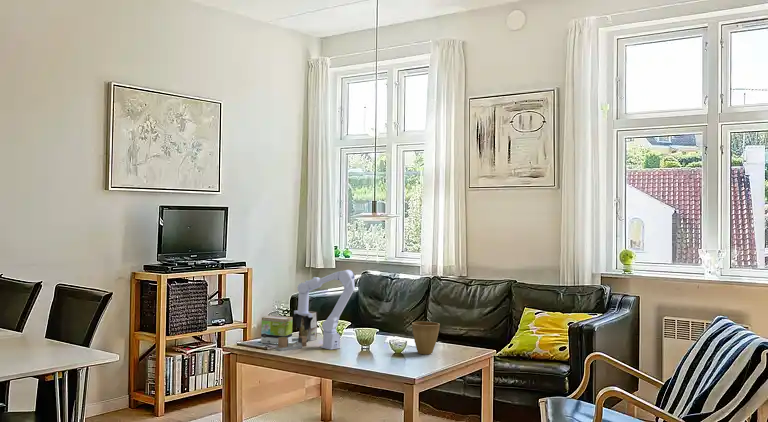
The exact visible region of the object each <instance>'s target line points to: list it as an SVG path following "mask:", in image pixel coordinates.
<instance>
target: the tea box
mask: <svg viewBox="0 0 768 422" xmlns="http://www.w3.org/2000/svg"><path fill="white" fill-rule="evenodd" d="M293 319H294V317H293V316H282V315H270V314H269V315H266V316H264V317H261V325H260V327H261V330H260V333H261V334H260V335H261V336H260V343H261V344H269V343H278V337H287V338H288V343H289V342H291V343H292V342H293V321H294V320H293Z"/></svg>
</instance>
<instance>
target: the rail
mask: <svg viewBox="0 0 768 422" xmlns="http://www.w3.org/2000/svg"><path fill="white" fill-rule="evenodd" d="M274 348H275V351H279V352H282V351H291V350H297V349H303V347H302V343H299V342H298V341H295V344H293V343H288V338H287V337H278V344H277V346H275V347H274Z"/></svg>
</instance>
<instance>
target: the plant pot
mask: <svg viewBox="0 0 768 422" xmlns="http://www.w3.org/2000/svg"><path fill="white" fill-rule="evenodd" d="M440 326H441V324H440V323H438V322H434V321H414V322H412V323H411V327H412V334H413V340H414V343H415V348H416V351H417V354H420V355H432V354H433V351H434V349H435V347H436V344H437V340H438V338H439V337H438V336H439V332H440ZM431 353H432V354H431Z"/></svg>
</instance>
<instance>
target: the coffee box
mask: <svg viewBox="0 0 768 422" xmlns="http://www.w3.org/2000/svg"><path fill="white" fill-rule="evenodd" d="M308 312H309V313H311V314H312V317H313V319H312V321H311V323H310V325H309V329H308V330H305V329H304V320H303V317H306V316H303V317H302V320H301V327H300V328H298V338H299V337H301V336H304V337H307V341H309V342H310V341H315V340H317V338H318V311H311V310H310V311H309V310H308Z"/></svg>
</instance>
